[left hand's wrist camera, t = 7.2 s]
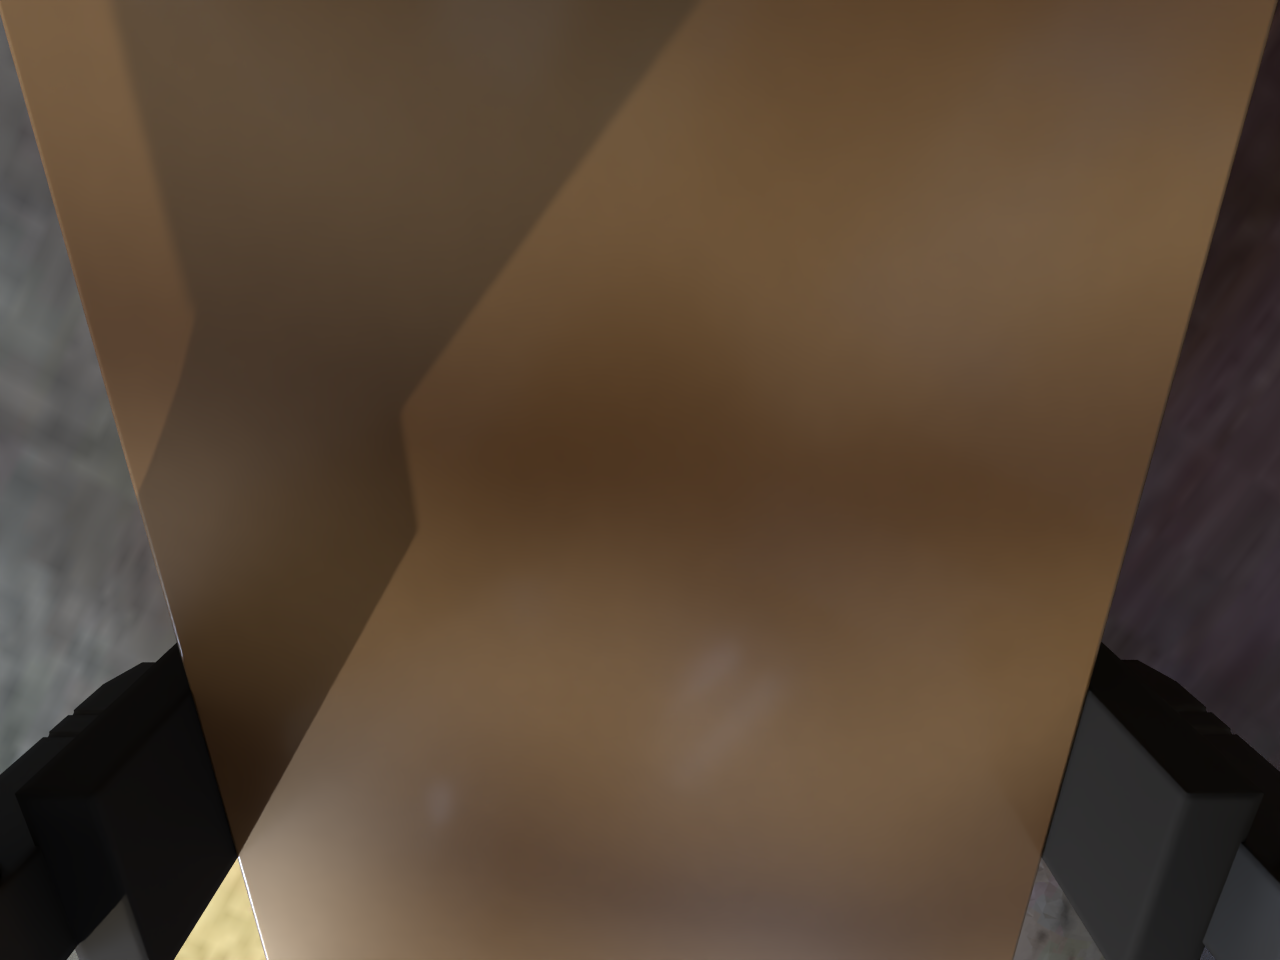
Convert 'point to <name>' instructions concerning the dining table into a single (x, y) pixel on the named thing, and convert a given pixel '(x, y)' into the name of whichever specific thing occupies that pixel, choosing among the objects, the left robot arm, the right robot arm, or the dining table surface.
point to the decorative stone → (1053, 925)
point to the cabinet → (638, 437)
